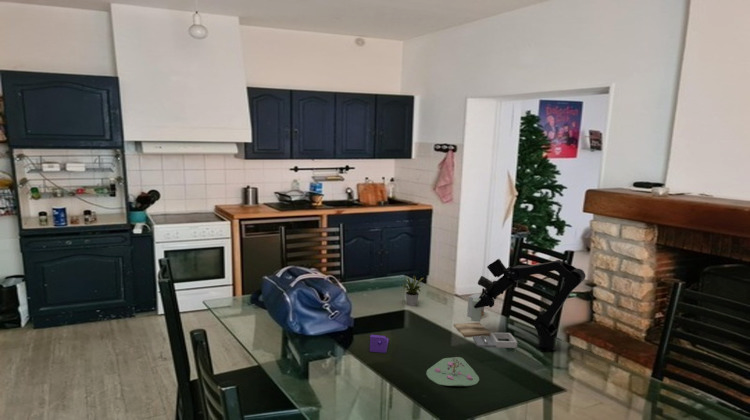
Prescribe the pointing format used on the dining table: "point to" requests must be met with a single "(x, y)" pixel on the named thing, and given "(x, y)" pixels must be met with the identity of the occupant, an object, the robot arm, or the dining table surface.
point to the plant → (452, 372)
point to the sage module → (476, 311)
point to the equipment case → (494, 342)
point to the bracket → (378, 343)
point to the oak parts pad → (472, 329)
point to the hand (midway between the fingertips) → (474, 305)
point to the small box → (470, 299)
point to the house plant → (412, 292)
